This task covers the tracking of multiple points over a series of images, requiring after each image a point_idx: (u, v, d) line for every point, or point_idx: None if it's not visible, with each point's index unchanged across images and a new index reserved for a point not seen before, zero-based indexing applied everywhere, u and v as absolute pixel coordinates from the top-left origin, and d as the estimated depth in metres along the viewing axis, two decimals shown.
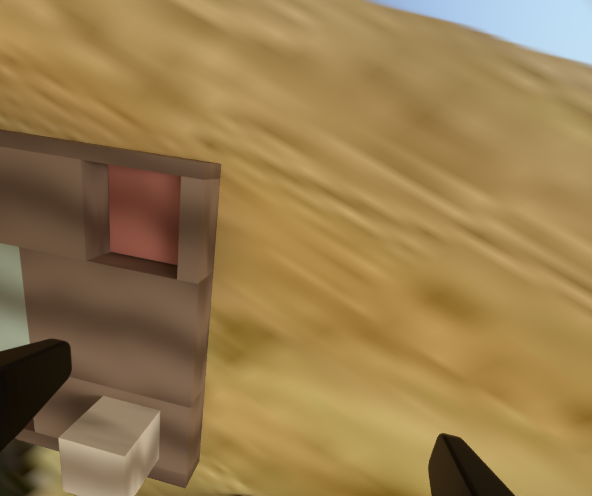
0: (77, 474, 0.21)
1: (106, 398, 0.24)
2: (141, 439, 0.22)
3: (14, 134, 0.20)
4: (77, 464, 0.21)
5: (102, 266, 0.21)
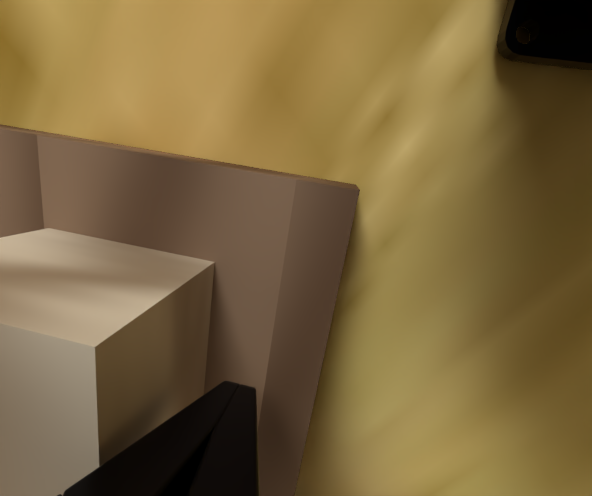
0: None
1: None
2: None
3: None
4: None
5: None
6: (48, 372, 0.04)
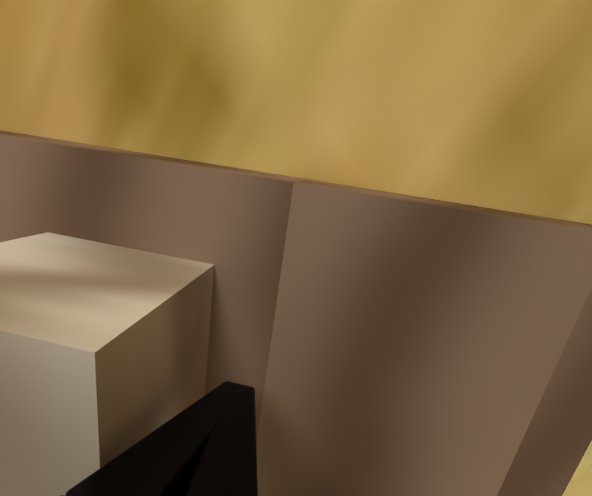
0: None
1: None
2: None
3: None
4: None
5: None
6: (48, 378, 0.04)
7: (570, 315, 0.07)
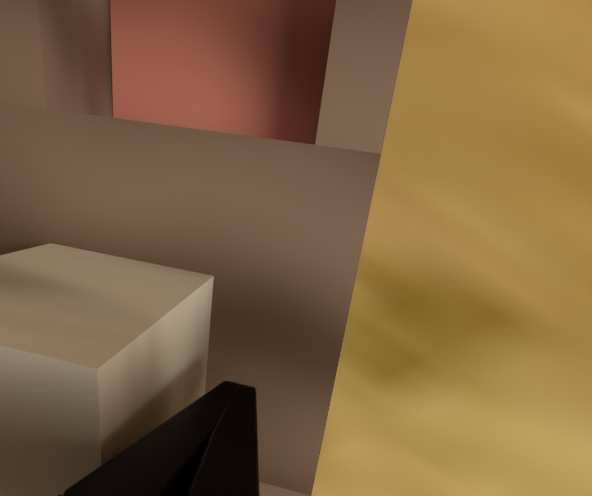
0: None
1: (58, 246, 0.08)
2: (164, 334, 0.06)
3: None
4: None
5: (91, 121, 0.08)
6: None
7: None
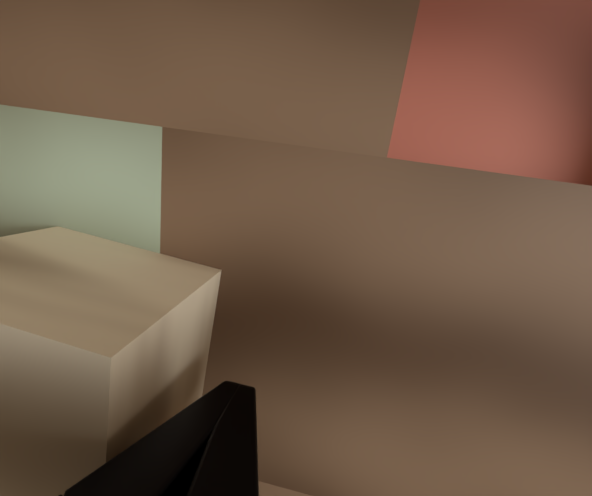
0: None
1: (65, 230, 0.08)
2: (172, 326, 0.06)
3: None
4: None
5: (443, 172, 0.07)
6: None
7: None
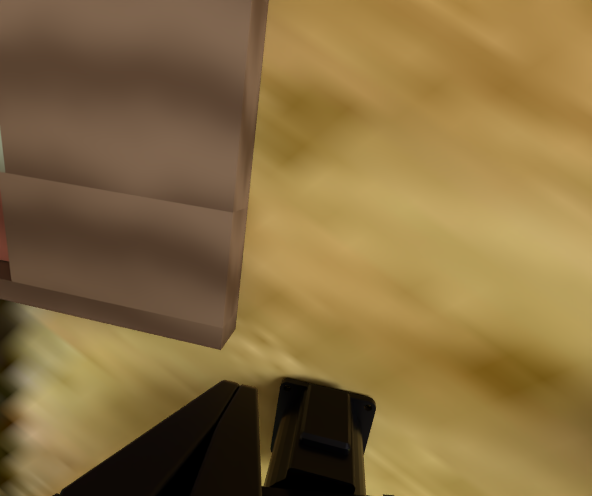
0: None
1: None
2: None
3: None
4: None
5: None
6: None
7: (191, 318, 0.18)
